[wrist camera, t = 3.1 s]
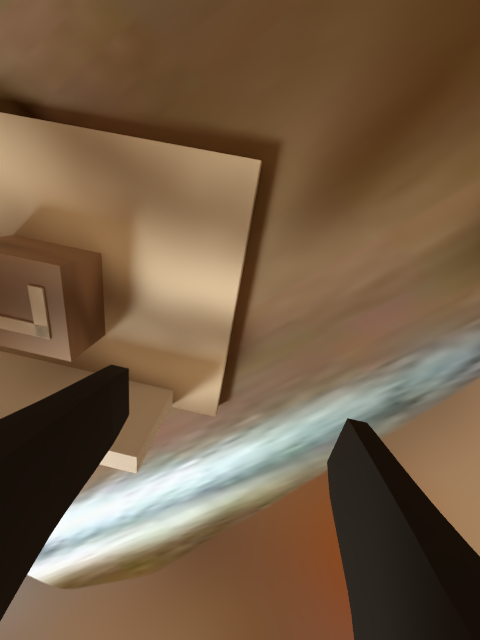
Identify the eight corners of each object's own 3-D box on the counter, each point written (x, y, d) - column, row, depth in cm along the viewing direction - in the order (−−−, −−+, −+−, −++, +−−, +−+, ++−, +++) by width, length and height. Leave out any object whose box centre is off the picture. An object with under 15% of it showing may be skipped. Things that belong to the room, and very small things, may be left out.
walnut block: (105, 334, 16) (69, 362, 14) (28, 317, 17) (-23, 341, 14) (101, 253, 14) (57, 266, 11) (12, 234, 14) (-51, 243, 12)
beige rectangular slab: (172, 404, 18) (136, 473, 13) (-50, 353, 19) (-154, 402, 14) (173, 390, 17) (136, 457, 13) (-55, 338, 18) (-165, 384, 14)
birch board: (218, 406, 19) (215, 416, 18) (-59, 342, 20) (-75, 349, 19) (262, 163, 12) (260, 160, 12) (-150, 86, 13) (-181, 78, 12)
